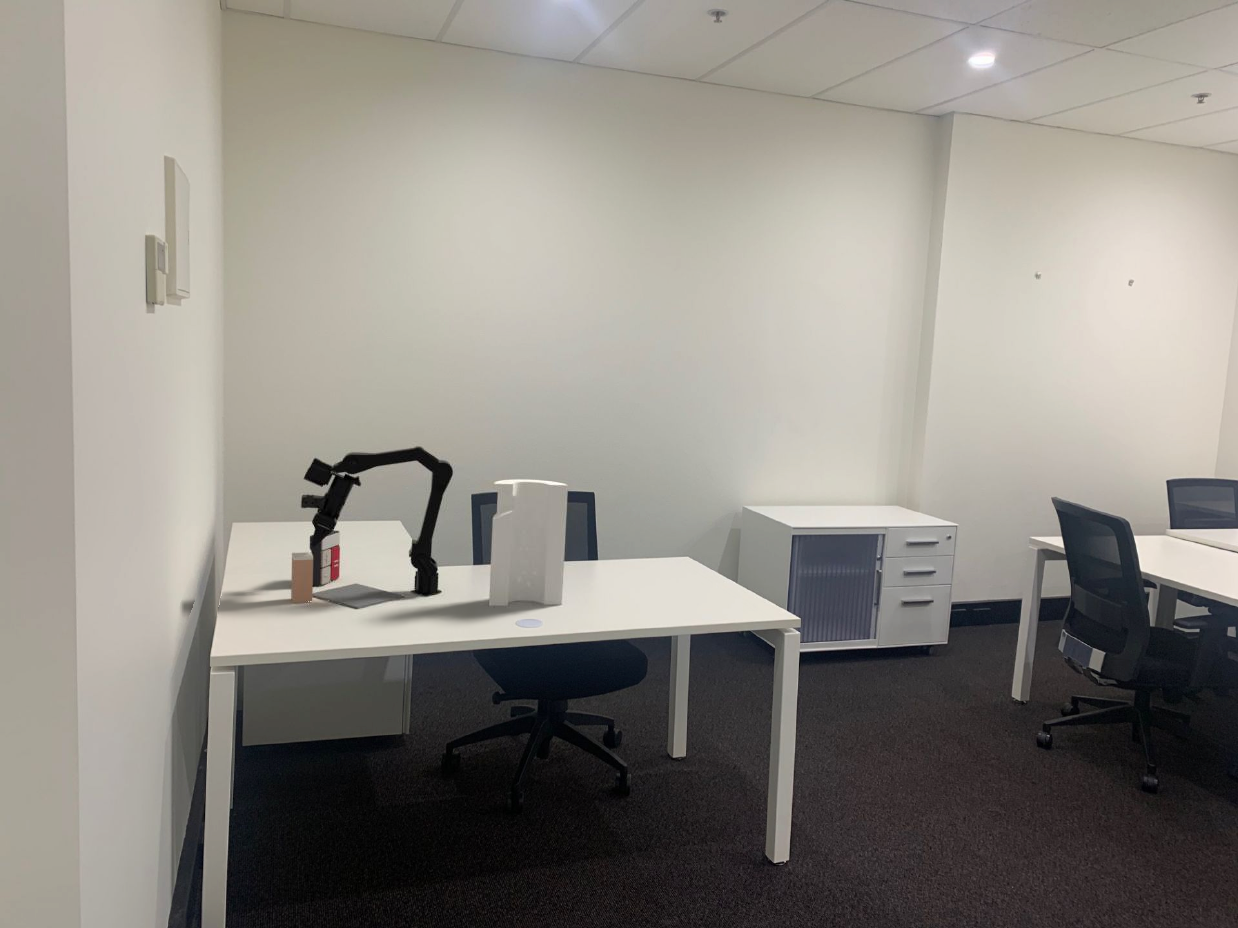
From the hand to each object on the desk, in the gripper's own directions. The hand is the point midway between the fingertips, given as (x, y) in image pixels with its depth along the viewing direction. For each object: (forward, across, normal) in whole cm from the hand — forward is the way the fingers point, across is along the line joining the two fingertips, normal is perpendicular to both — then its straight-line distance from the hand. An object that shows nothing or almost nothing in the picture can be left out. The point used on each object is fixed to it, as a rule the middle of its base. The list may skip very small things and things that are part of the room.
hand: (314, 543), depth 251 cm
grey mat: (+9, +4, +17) cm, 19 cm away
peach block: (+14, +7, +4) cm, 17 cm away
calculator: (+13, -13, +8) cm, 20 cm away
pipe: (-10, +10, +60) cm, 62 cm away
